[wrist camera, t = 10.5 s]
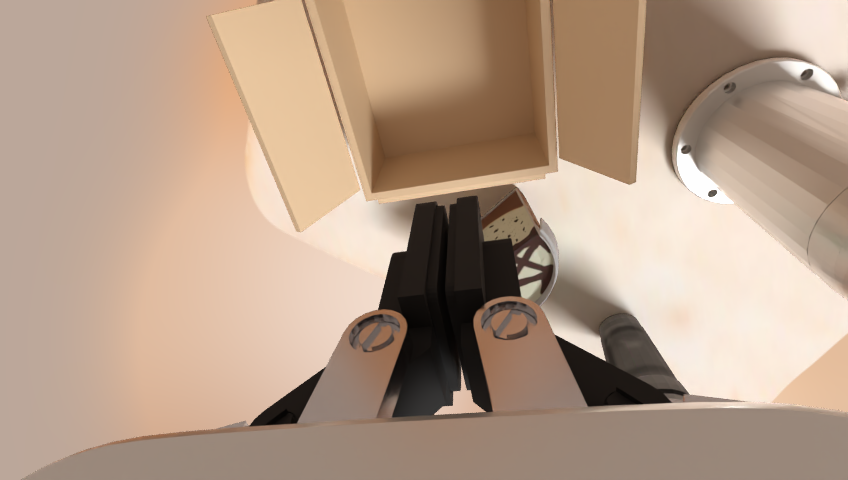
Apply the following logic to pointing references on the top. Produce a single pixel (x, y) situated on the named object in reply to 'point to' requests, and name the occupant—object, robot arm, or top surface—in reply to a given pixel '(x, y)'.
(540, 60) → the carton
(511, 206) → the food container
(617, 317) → the beverage cup
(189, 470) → the robot arm
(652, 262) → the top surface
